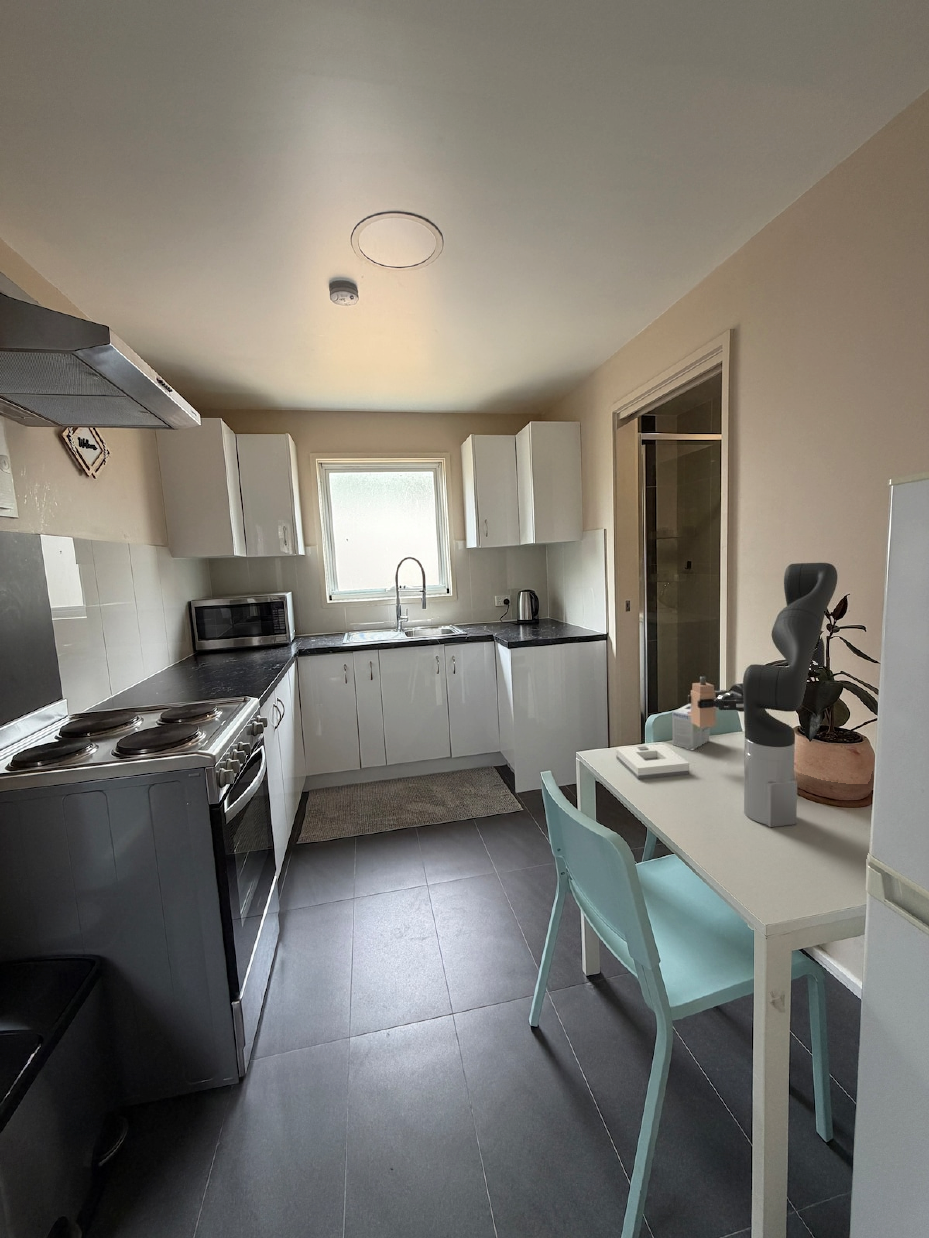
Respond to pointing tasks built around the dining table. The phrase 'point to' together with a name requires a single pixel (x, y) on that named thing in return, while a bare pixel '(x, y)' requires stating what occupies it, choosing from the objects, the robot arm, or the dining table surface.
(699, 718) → the plug
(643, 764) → the socket plate
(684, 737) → the light bulb box
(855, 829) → the dining table surface
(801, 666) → the robot arm
